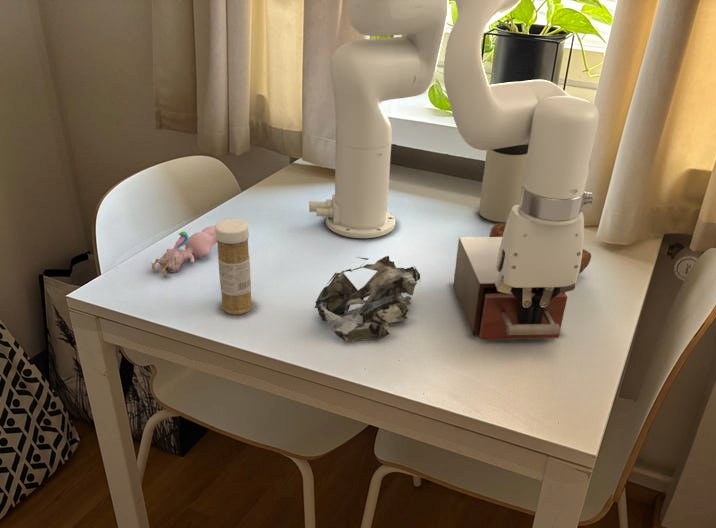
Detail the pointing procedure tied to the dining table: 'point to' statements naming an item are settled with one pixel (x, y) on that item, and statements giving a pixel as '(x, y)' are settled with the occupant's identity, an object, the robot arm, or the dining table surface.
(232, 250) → the sprinkles bottle
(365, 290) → the foil
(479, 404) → the dining table surface
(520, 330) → the drawer
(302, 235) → the dining table surface
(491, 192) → the travel mug
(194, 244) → the rabbit figure
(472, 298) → the wooden drawer cabinet
